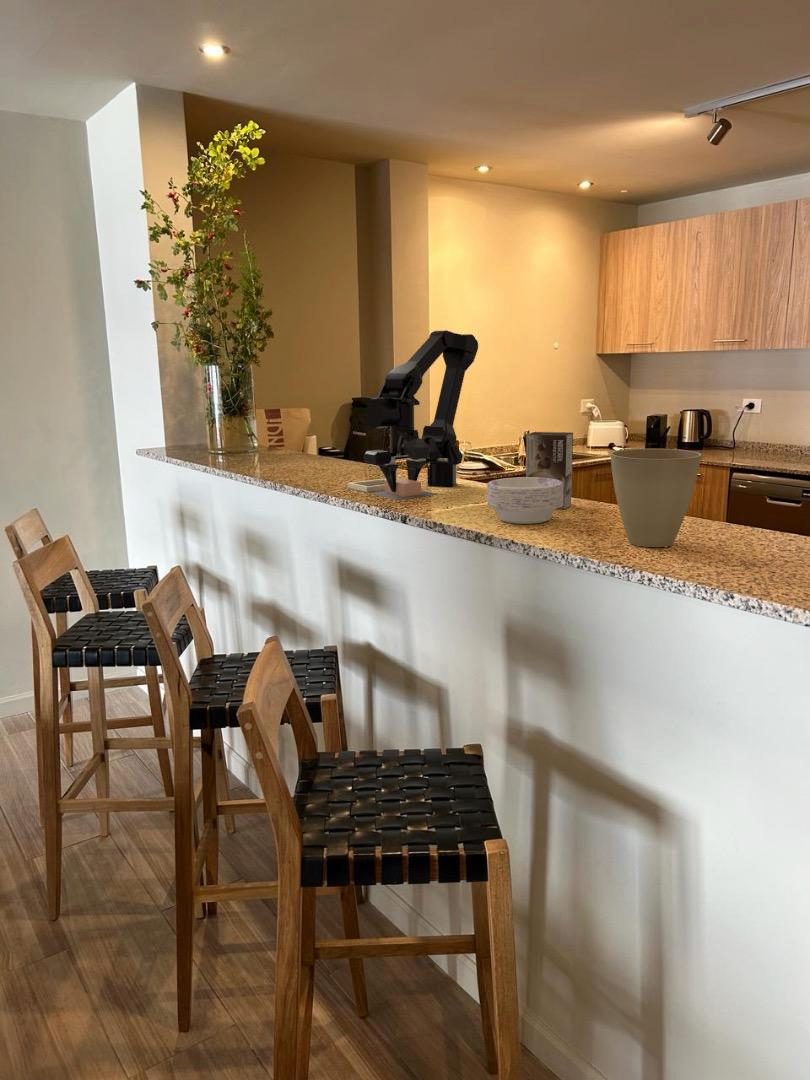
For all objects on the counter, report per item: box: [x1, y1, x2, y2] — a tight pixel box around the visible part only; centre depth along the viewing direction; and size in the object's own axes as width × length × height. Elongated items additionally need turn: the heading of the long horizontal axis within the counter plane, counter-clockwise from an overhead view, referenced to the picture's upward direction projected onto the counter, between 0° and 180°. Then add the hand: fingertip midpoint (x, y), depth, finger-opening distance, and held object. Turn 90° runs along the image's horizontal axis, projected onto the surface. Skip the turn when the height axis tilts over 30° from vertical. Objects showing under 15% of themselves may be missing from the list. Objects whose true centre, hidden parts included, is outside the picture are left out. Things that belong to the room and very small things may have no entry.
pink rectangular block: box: [385, 477, 422, 497], centre depth 187 cm, size 8×5×3 cm, turn 36°
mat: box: [343, 478, 439, 501], centre depth 191 cm, size 24×12×2 cm, turn 36°
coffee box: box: [525, 431, 574, 510], centre depth 171 cm, size 9×6×16 cm
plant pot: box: [609, 448, 702, 548], centre depth 135 cm, size 15×15×16 cm
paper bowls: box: [486, 476, 563, 525], centre depth 157 cm, size 15×15×8 cm
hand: (402, 490), depth 187 cm, fingers closed on pink rectangular block, 5 cm apart
